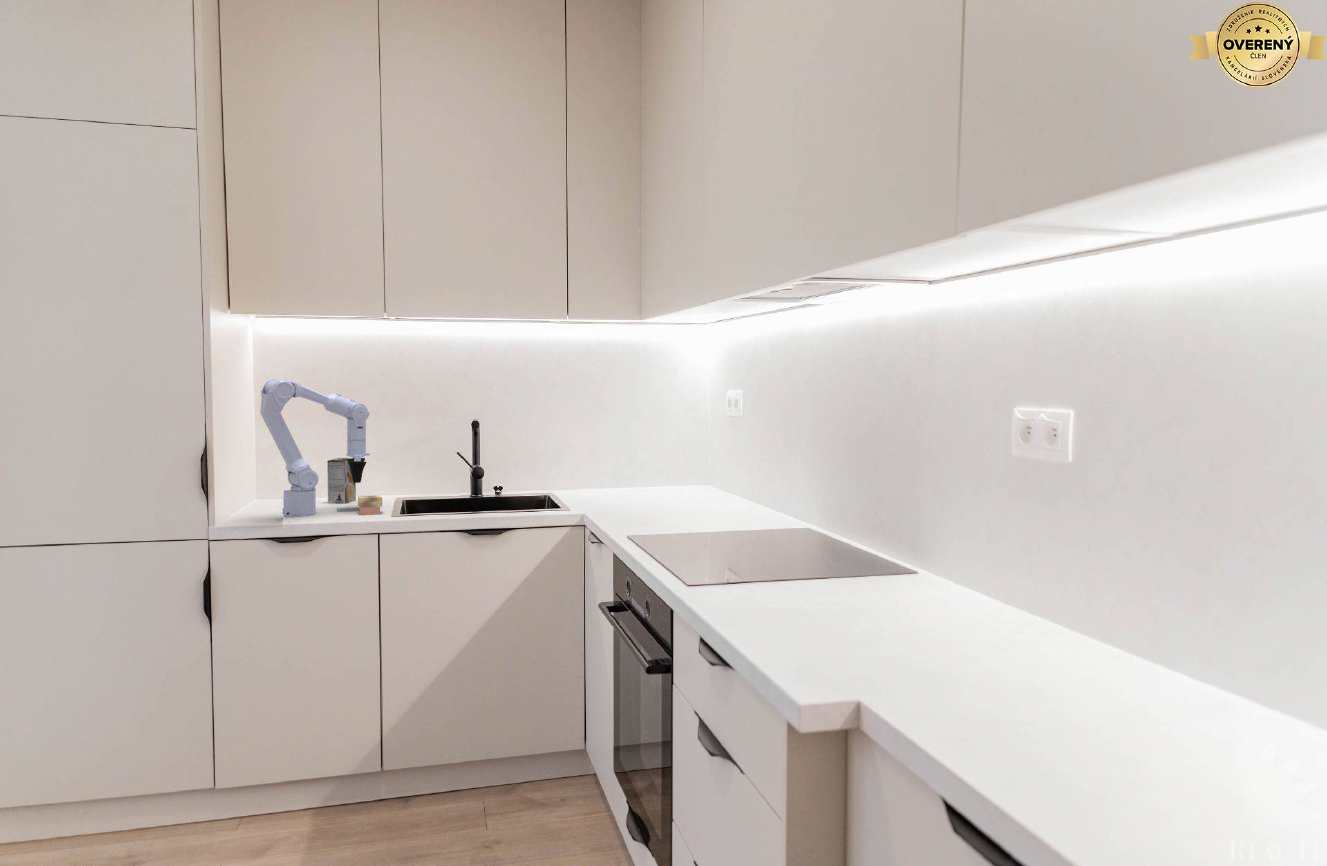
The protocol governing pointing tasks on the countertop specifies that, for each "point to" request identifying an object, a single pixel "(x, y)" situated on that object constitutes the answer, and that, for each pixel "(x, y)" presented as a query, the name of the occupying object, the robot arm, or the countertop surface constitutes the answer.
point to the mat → (347, 509)
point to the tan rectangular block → (370, 501)
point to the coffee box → (340, 482)
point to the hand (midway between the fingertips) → (356, 481)
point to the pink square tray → (369, 511)
